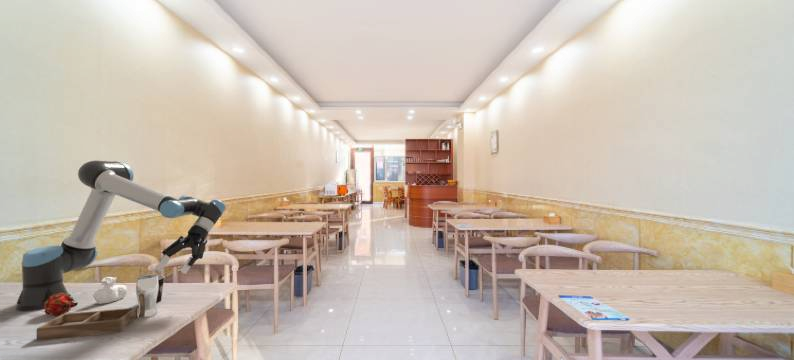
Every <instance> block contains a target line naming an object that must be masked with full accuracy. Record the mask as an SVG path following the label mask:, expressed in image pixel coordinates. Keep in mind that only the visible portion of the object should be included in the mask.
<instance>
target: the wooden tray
mask: <svg viewBox="0 0 794 360" xmlns="http://www.w3.org/2000/svg"><path fill="white" fill-rule="evenodd" d="M137 319H138V307H127V308H115V309H104V310H94V311H92V310H91V311H81V312H71V313H69V312H68V313H62V314H61V315H60V316H56V317H55V318H53V319H51V320H50V321H48V322H46V323H45V324H42V325H39V327H37V328H36V341H37V342H39V341H40V342H41V341H48V340H49V341H50V340H57V339H59V340H60V339H66V338H75V337H86V336H95V335H96V336H97V334H98V335H104V334H105V335H106V334H115V333H121V332H122V331H124V330H125V329H126V328H127V327H128V326H130V325H131V324H132V323H133V322H134V321H136V320H137ZM124 328H125V329H124Z"/></svg>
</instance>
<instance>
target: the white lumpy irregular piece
mask: <svg viewBox="0 0 794 360" xmlns="http://www.w3.org/2000/svg"><path fill="white" fill-rule="evenodd" d="M99 281H100V283H101V286H103V288H101V289H98V290H97V291H95V292H94V294H93V295H92V297H93V299H94V300H95V301H96V302H95V303H97V304H98V305H103V304H110V303H112V302H116V301H120V300H121V299H123V298H124V297H126V296H127V293H128V287H127V286H126V285H124V284H123V285H122V284H116V285H115V283H116V281H117V276H115V277H114V276H113V277H112V276H105V277H103V278H102V279H101V280H99Z"/></svg>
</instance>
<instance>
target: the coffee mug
mask: <svg viewBox="0 0 794 360" xmlns="http://www.w3.org/2000/svg"><path fill="white" fill-rule="evenodd" d="M164 281H165V276H164V275H158V284H159V288H158V295H157V300H156V304H157V303H161V301H162V297H163V289H164Z"/></svg>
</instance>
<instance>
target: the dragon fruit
mask: <svg viewBox="0 0 794 360" xmlns="http://www.w3.org/2000/svg"><path fill="white" fill-rule="evenodd" d="M71 295H72V294H70V293H68V294H64V293H57V294H53V295H52V296H51V297H50V298H49V299H48V300H46V302H45V303H44V308H43V309H44V313H45V314H46V316H48V315H52V316H54V317H59V316H60V315H62V314H64V313H69V311H71V309H73V308H75V307H77V306H78V302H77V301H75V299H74V298H73V297H72V296H71Z"/></svg>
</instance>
